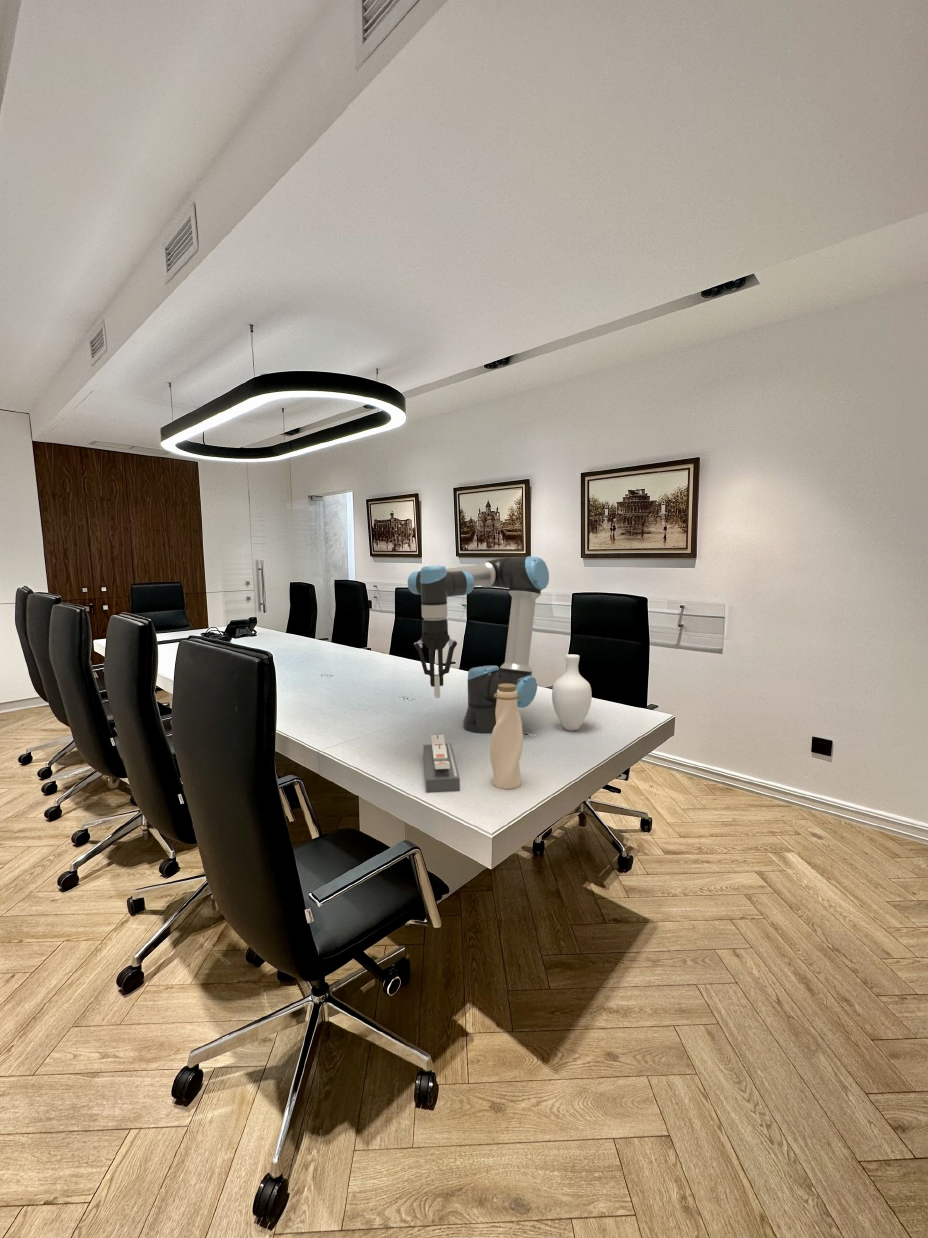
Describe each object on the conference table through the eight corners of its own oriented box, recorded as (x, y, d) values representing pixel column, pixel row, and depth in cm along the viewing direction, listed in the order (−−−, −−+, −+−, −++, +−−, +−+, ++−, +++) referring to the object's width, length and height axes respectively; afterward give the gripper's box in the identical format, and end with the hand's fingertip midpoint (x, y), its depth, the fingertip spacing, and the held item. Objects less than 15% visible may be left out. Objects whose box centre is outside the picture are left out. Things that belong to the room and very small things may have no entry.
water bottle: (487, 775, 152) (487, 681, 149) (518, 774, 153) (518, 680, 150) (492, 790, 142) (492, 689, 139) (525, 789, 143) (526, 688, 140)
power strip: (449, 745, 178) (448, 734, 178) (459, 790, 142) (459, 777, 141) (422, 746, 177) (422, 735, 177) (426, 792, 141) (426, 779, 140)
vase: (585, 723, 202) (586, 651, 199) (595, 735, 187) (597, 658, 184) (548, 723, 201) (549, 652, 198) (555, 736, 187) (556, 658, 184)
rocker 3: (448, 766, 149) (447, 760, 150) (450, 768, 142) (449, 762, 143) (434, 766, 149) (434, 761, 149) (435, 769, 142) (435, 763, 142)
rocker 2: (445, 749, 158) (445, 744, 158) (447, 762, 152) (447, 757, 151) (432, 749, 158) (432, 745, 158) (433, 762, 151) (433, 757, 151)
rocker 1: (443, 738, 167) (443, 734, 167) (445, 751, 161) (445, 747, 160) (431, 739, 167) (431, 735, 166) (432, 752, 160) (432, 748, 160)
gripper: (455, 616, 158) (457, 692, 161) (412, 618, 156) (414, 694, 159) (458, 619, 151) (460, 698, 154) (413, 621, 149) (416, 701, 152)
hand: (437, 696), depth 156 cm, fingers closed
